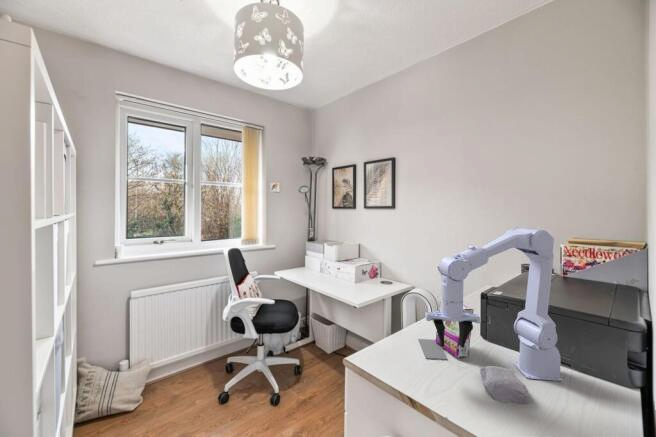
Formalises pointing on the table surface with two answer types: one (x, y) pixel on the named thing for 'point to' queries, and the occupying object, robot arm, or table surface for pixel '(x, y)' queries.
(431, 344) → the mat
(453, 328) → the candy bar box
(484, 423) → the table surface
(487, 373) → the stone block
